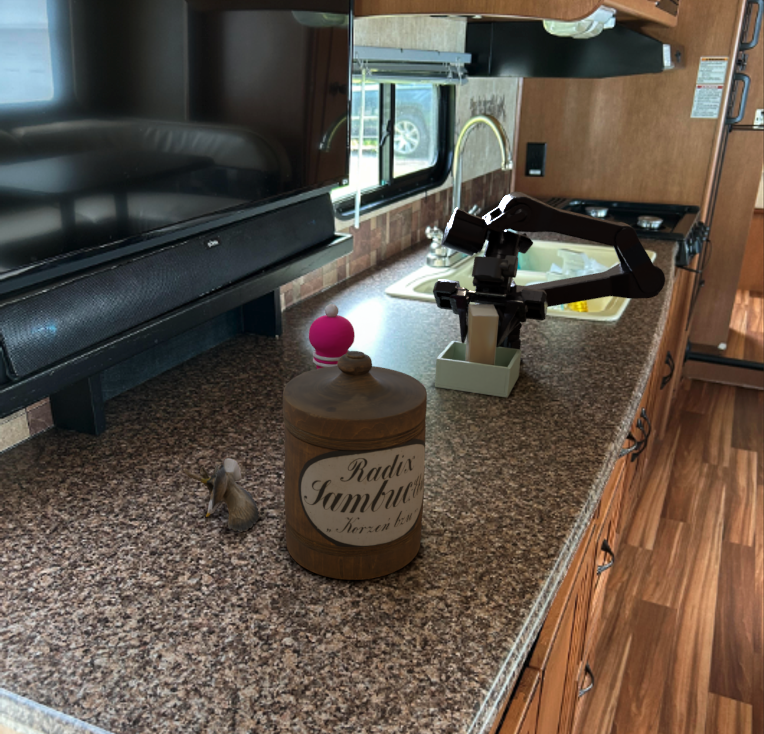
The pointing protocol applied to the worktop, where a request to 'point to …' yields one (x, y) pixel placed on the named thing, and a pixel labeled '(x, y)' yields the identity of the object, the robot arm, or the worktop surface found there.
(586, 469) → the worktop surface
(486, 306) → the cosmetic box
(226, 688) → the worktop surface
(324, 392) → the wooden container
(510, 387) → the bin
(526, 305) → the robot arm
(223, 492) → the eagle figurine
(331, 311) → the pepper mill
